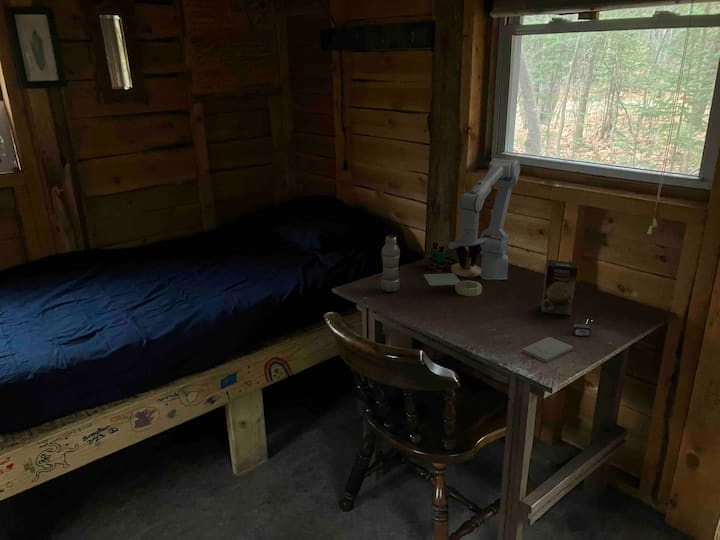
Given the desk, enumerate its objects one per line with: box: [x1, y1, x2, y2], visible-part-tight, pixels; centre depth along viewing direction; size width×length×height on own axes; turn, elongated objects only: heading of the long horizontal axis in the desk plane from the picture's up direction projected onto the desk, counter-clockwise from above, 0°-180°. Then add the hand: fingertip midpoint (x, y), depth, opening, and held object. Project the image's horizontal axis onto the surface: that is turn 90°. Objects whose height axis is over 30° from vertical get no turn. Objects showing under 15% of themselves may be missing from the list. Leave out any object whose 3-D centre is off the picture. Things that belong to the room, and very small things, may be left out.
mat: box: [422, 272, 461, 287], centre depth 209 cm, size 12×12×1 cm
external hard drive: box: [520, 336, 574, 364], centre depth 156 cm, size 2×8×12 cm
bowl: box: [455, 280, 483, 297], centre depth 197 cm, size 8×8×3 cm
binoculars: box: [428, 241, 457, 273], centre depth 220 cm, size 9×11×10 cm
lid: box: [450, 254, 481, 278], centre depth 196 cm, size 10×10×6 cm
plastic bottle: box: [380, 234, 401, 293], centre depth 196 cm, size 6×7×20 cm
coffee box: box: [540, 259, 578, 316], centre depth 181 cm, size 9×6×16 cm
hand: (466, 266), depth 196 cm, fingers closed on lid, 3 cm apart
